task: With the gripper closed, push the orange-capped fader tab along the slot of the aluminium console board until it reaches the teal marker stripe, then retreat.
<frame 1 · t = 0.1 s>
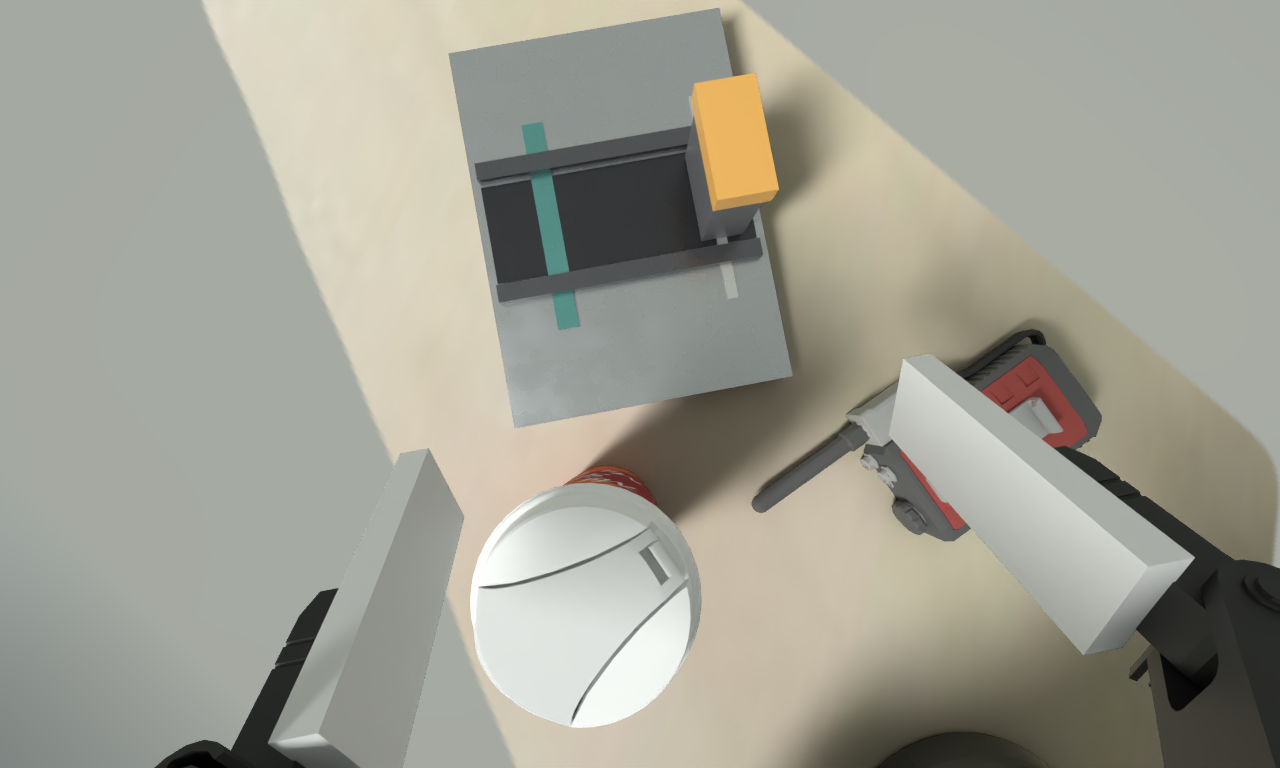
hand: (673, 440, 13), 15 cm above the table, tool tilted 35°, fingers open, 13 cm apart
paper cup: (606, 511, 29), on the table
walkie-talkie: (908, 453, 30), on the table
console board: (620, 226, 29), on the table
fader: (723, 169, 24), point 5 cm above the table, slide at 0.0 cm
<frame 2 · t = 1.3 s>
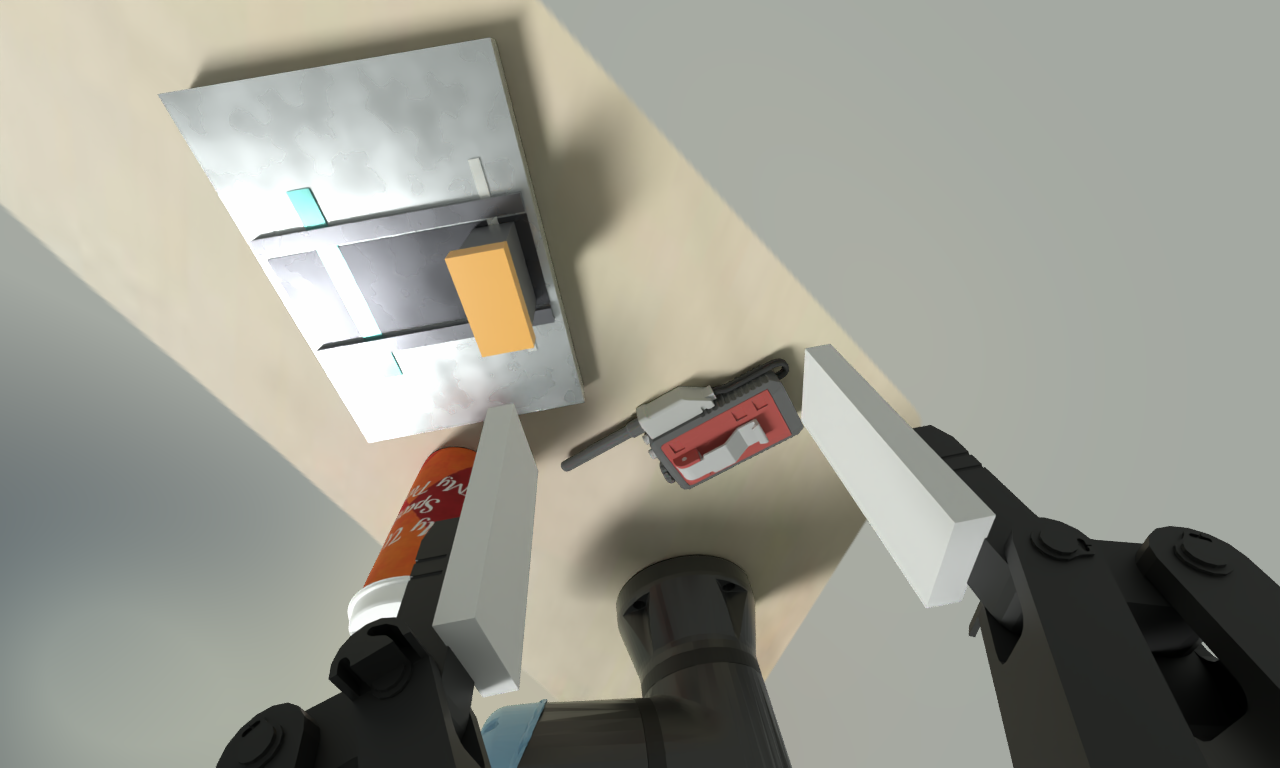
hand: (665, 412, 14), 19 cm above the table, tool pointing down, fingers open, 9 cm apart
paper cup: (458, 470, 40), on the table
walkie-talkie: (681, 426, 41), on the table
console board: (425, 270, 30), on the table
fader: (499, 284, 26), point 5 cm above the table, slide at 0.0 cm
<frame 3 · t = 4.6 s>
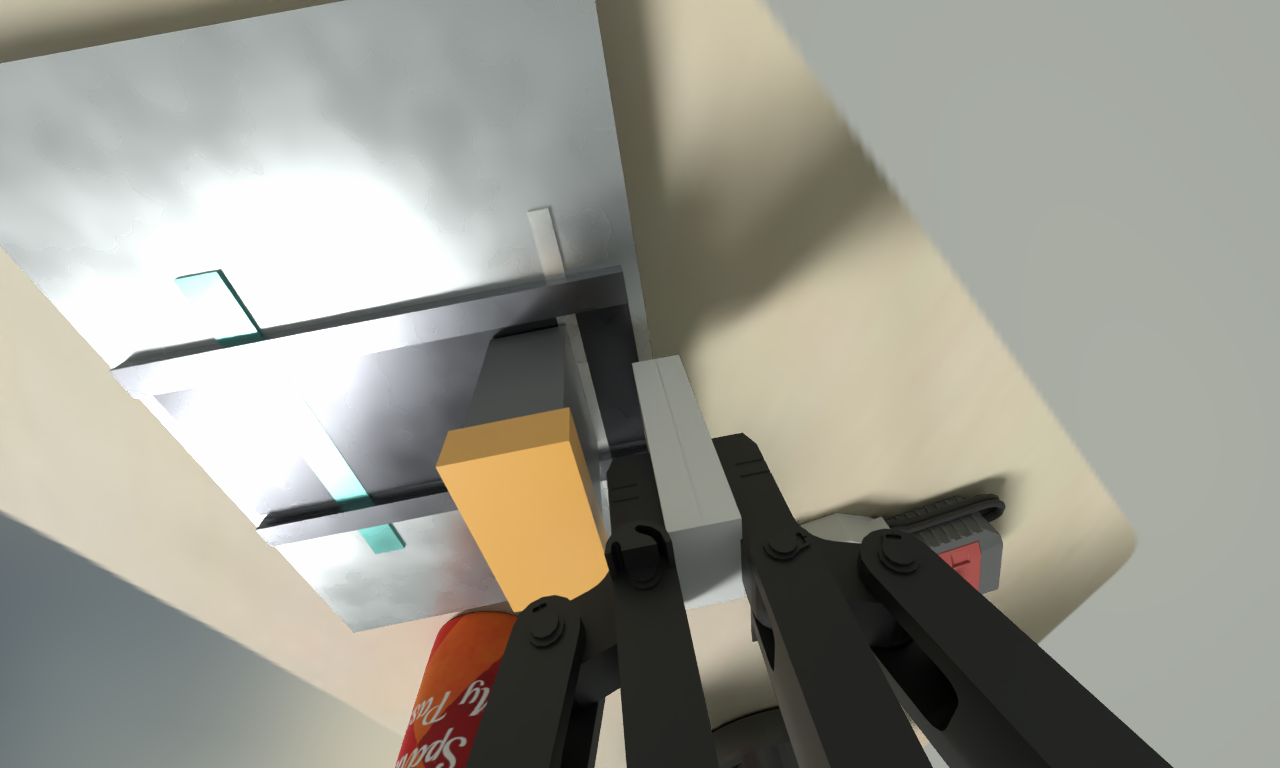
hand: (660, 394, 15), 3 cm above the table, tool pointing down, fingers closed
paper cup: (486, 636, 28), on the table
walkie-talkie: (809, 558, 28), on the table
console board: (441, 385, 18), on the table
fader: (544, 454, 14), point 5 cm above the table, slide at 1.3 cm, touching gripper
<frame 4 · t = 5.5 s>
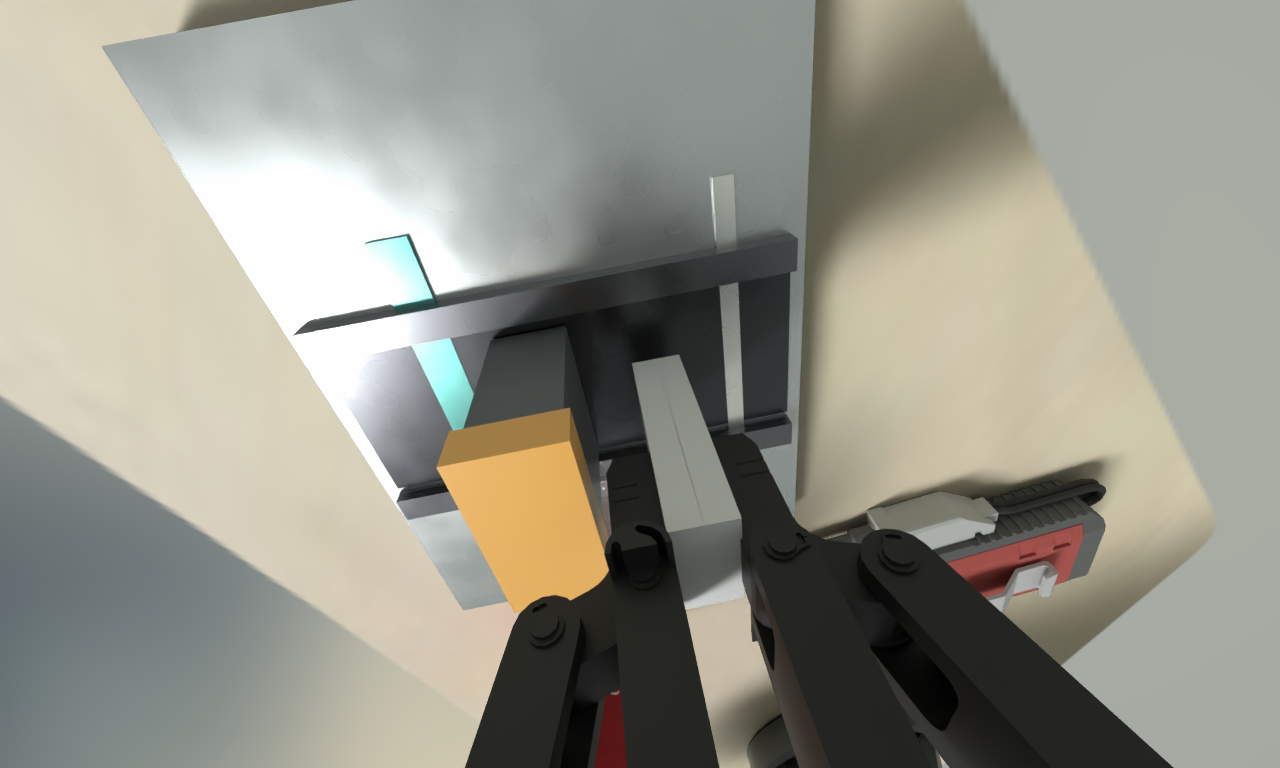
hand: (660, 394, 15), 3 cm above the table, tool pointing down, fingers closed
paper cup: (575, 618, 28), on the table
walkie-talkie: (897, 538, 28), on the table
console board: (576, 359, 18), on the table
fader: (544, 454, 14), point 5 cm above the table, slide at 6.5 cm, touching gripper
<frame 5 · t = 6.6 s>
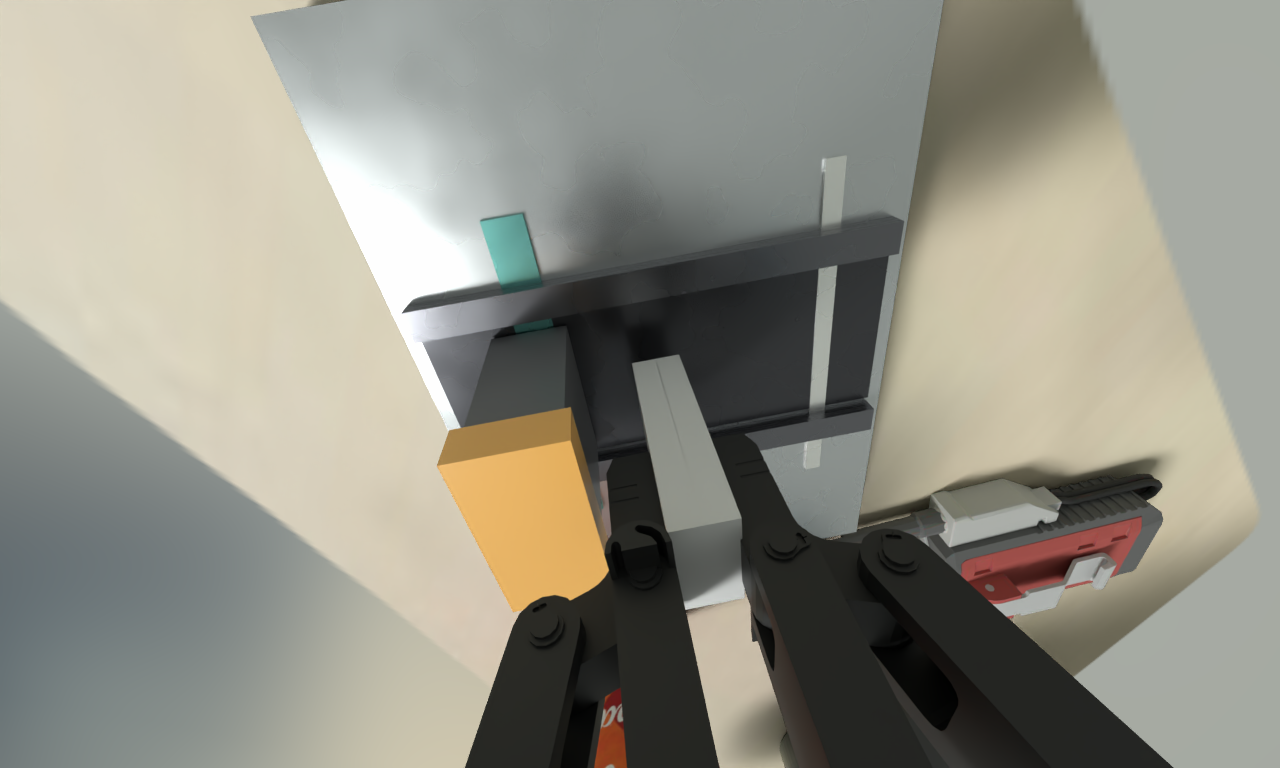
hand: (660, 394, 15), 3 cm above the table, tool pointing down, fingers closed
paper cup: (626, 608, 28), on the table
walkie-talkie: (949, 527, 28), on the table
console board: (658, 344, 18), on the table
fader: (544, 454, 14), point 5 cm above the table, slide at 9.7 cm, touching gripper
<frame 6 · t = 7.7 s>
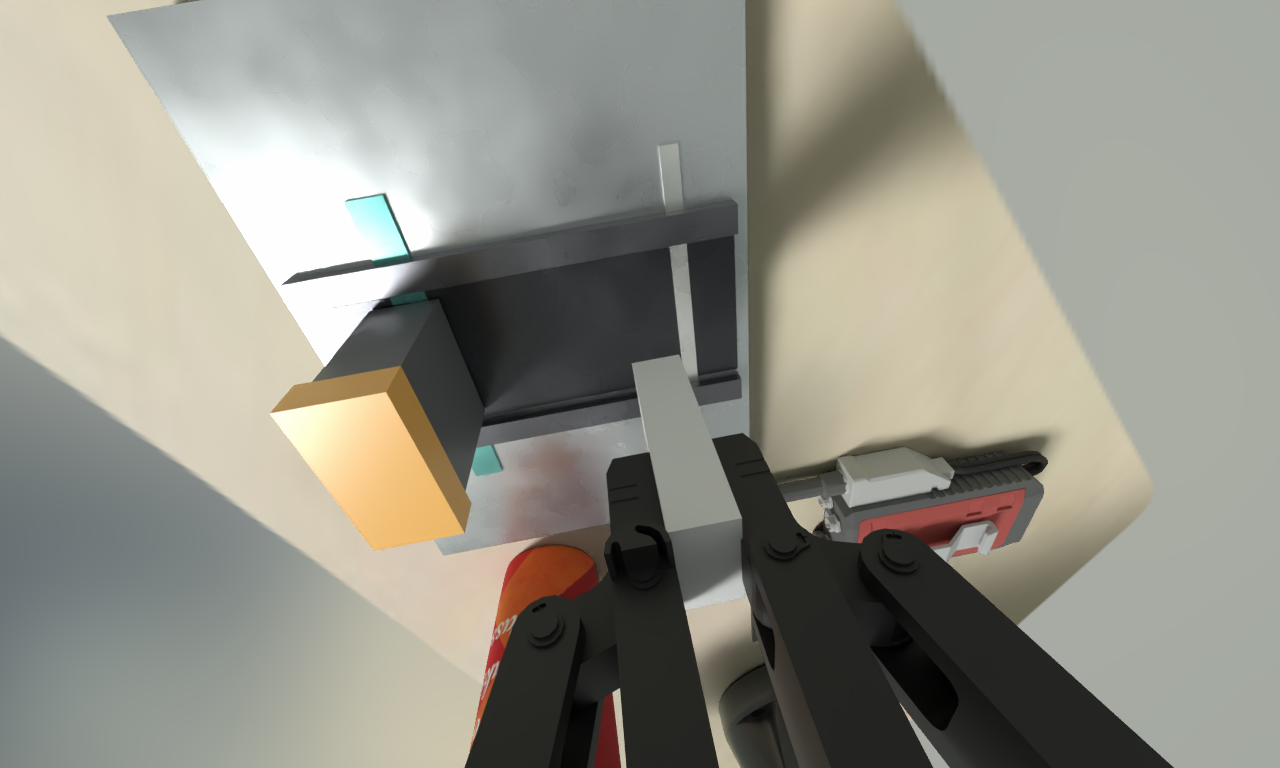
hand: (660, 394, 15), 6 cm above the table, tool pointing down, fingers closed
paper cup: (551, 570, 30), on the table
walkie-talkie: (858, 493, 30), on the table
console board: (545, 318, 20), on the table
fader: (409, 413, 15), point 5 cm above the table, slide at 9.7 cm
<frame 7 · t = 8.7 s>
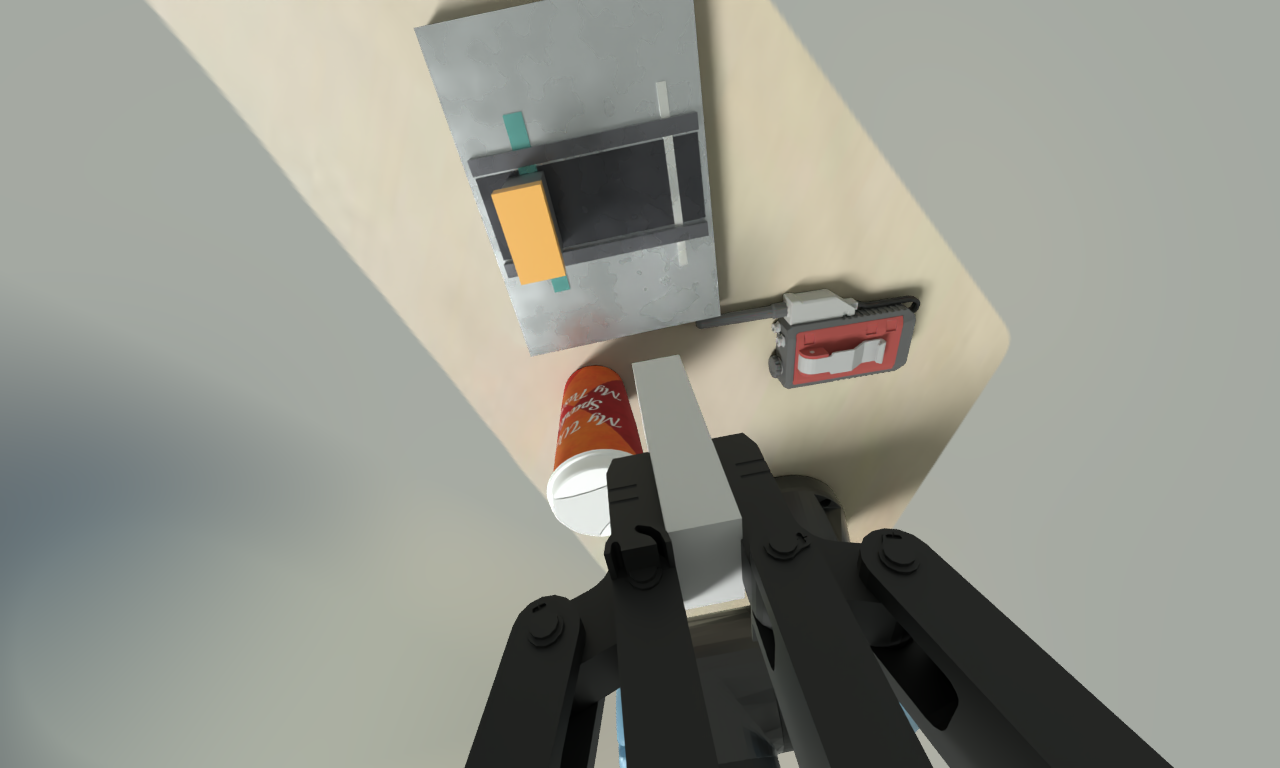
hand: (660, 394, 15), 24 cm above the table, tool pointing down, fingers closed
paper cup: (593, 389, 44), on the table
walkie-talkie: (799, 331, 44), on the table
console board: (594, 192, 35), on the table
fader: (533, 223, 30), point 5 cm above the table, slide at 9.7 cm
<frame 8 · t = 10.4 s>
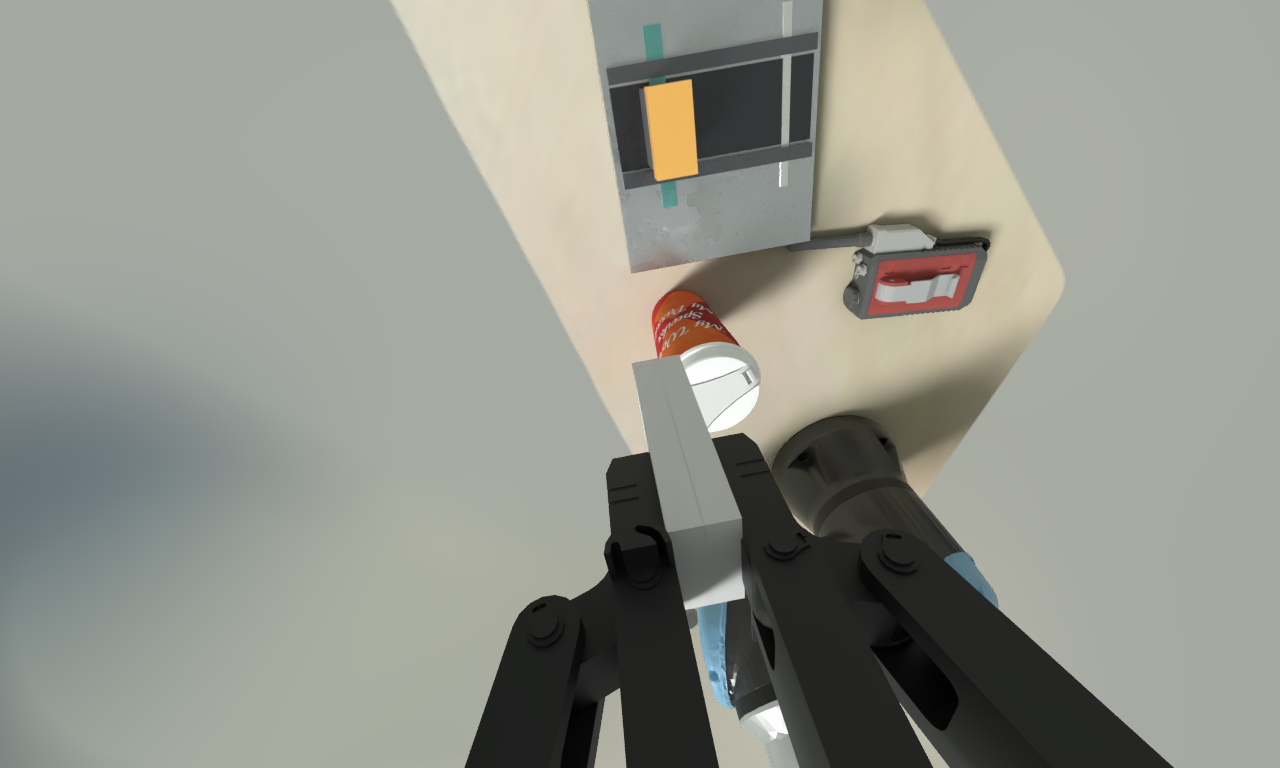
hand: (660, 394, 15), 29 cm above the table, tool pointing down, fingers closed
paper cup: (678, 316, 47), on the table
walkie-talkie: (874, 266, 47), on the table
console board: (707, 113, 37), on the table
fader: (665, 128, 33), point 5 cm above the table, slide at 9.7 cm
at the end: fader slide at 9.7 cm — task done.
